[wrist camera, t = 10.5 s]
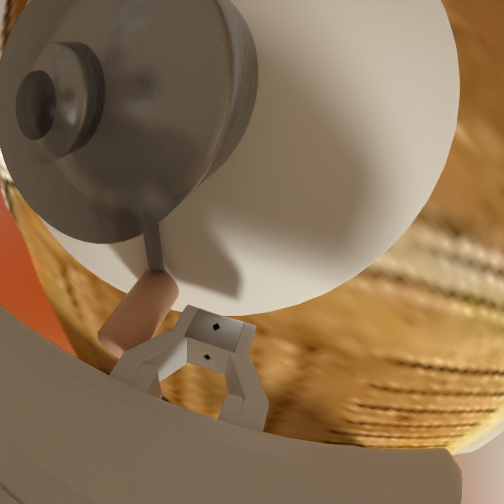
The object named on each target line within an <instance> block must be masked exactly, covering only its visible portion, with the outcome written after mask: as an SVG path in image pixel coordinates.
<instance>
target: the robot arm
mask: <svg viewBox="0 0 504 504" xmlns="http://www.w3.org/2000/svg"><path fill="white" fill-rule="evenodd" d="M255 330H256V326H255V325H252V324H248V323H244V322H242V321H239V320H235V319H232V318H228V317H225V316H221V315H218V314H215V313H212V312H209V311H206V310H203V309H201V308H197V307H195V306H192V305H189V304H188V305H187V306H186V307H185V309H184V310H183V312H182V314H181V316H180V317H179V319H178V321H177V323H176V324H175V326H174V328H173V330H172V332H171V331H166V332H164V333H162V334H160V335H158V336H156V337H154V338H152V339H150V340H148V341H146V342H144V343H142V344H140V345H138V346H136V347H134V348H132V349H130V350H128V351H125V352H124V353H123V354H122V356H121V357H120V359H119V360H118V362H117V364H116V365H115V367H114V368H113V370H112V372H111V373H110V375H107V374H105V373H104V372H102V371H100V370H98V369H96V368H94V367H92V366H91V365H89V364H87V363H85V362H83V361H82V360H80V359H78V358H76V357H75V356H73V355H71V354H70V353H68V352H66V351H65V350H63V349H62V348H60V347H58V346H56V345H55V344H54V343H52V342H51V341H49V340H47V339H46V338H45V337H43V336H42V335H40V334H39V333H37V332H36V331H34V330H33V329H32V328H30V327H29V326H27V325H26V324H25V323H23V322H22V321H20V320H19V319H18V318H17V317H15V316H14V315H13V314H11V313H10V312H9V311H7V310H6V309H5V308H4V307H2V306H1V305H0V504H461V498H462V472H461V469H460V467H459V465H458V464H457V462H456V461H455V459H454V458H453V456H452V455H451V454H450V452H449V451H448V450H447V449H444V448H429V449H382V448H364V447H352V446H342V445H333V444H325V443H318V442H312V441H306V440H300V439H294V438H289V437H284V436H279V435H274V434H270V433H266V432H263V429H264V425H265V420H266V416H267V412H268V408H269V402H268V399H267V397H266V395H265V392H264V390H263V387H262V385H261V382H260V380H259V377H258V375H257V372H256V369H255V367H254V364H253V362H252V359H251V358H249V357H248V354H249V351H250V347H251V344H252V340H253V337H254V334H255ZM187 362H188V363H191V364H194V365H197V366H200V367H203V368H206V369H209V370H212V371H215V372H218V373H221V374H224V375H225V379H226V383H227V387H228V390H229V395H227V396H226V398H225V401H224V404H223V406H222V409H221V412H220V415H219V417H218V419H214V418H211V417H208V416H205V415H202V414H199V413H196V412H193V411H191V410H188V409H185V408H182V407H180V406H177V405H174V404H172V403H169V402H167V401H164V400H162V399H161V398H162V394H161V389H160V383H159V382H160V381H161V380H163V379H164V378H166V377H167V376H169V375H170V374H172V373H173V372H175V371H176V370H178V369H179V368H181V367H182V366H184V365H185V364H187Z"/></svg>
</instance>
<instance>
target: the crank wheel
mask: <svg viewBox="0 0 504 504" xmlns="http://www.w3.org/2000/svg"><path fill="white" fill-rule="evenodd" d="M29 1H30V0H28V2H29ZM230 1H231V2H232V3H233V4H234V5H235V7H236V8H237V9H238V11H239V12H240V13H241V15H242V16H243V17H244V19H245V21H246V23H247V25H248V27H249V29H250V31H251V34H252V37H253V40H254V44H255V47H256V52H257V59H258V89H257V96H256V102H255V105H254V109H253V112H252V116H251V119H250V121H249V123H248V126H247V128H246V130H245V133H244V135H243V137H242V138H241V140H240V142H239V143H238V145H237V147H236V148H235V150H234V151H233V152H232V154H231V155H230V156H229V158H228V159H227V160H226V161H225V163H224V164H223V165H222V166H221V167H220V168H219V169H218V170H217V171H216V172H215V173H213V174H212V175H211V176H210V177H209V178H208V179H207V180H205V181H204V182H203V183H202V184H201V185H200V186H199V187H198V188H197V189H195V190H194V191H193V192H192V193H191V194H190V195H189V196H188V197H187V198H186V199H184V200H183V201H182V202H181V203H180V204H179V205H178V206H177V207H176V208H175V209H174V210H173V211H172V212H171V213H170V214H169V215H167V216H166V217H165V218H164V219H163V220H162V221H160V222H159V223H158V224H157V225H156V226H154V227H153V228H152V229H150V230H148V231H147V232H145V233H143V234H141V235H140V236H138V237H135V238H132V239H130V240H127V241H124V242H118V243H113V244H95V243H89V242H84V241H80V240H77V239H74V238H72V237H69V236H67V235H65V234H63V233H61V232H60V231H58V230H57V229H55V228H53V227H52V226H50V225H49V224H48V223H47V222H46V221H44V220H43V219H42V218H41V217H40V216H39V215H38V216H39V217H40V219H41V220H42V222H43V223H44V224H45V226H46V227H47V228H48V230H49V231H50V232H51V234H52V235H53V236H54V237H55V238H56V240H57V241H58V242H59V243H60V244H61V245H62V246H63V247H64V248H65V249H66V251H68V252H69V253H70V254H71V255H72V256H73V257H74V258H75V259H76V260H77V261H78V262H80V263H81V264H82V265H83V266H84V267H86V268H87V269H88V270H90V271H91V272H92V273H94V274H95V275H96V276H98V277H99V278H100V279H102V280H104V281H105V282H107V283H109V284H110V285H112V286H114V287H115V288H117V289H119V290H121V291H123V292H125V293H127V295H126V296H125V297H124V298H123V300H122V301H121V302H120V304H119V305H118V306H117V307H116V309H115V310H114V311H113V313H112V314H111V315H110V317H109V318H108V319H107V321H106V322H105V323H104V325H103V326H102V327H101V329H100V330H99V331H98V338H99V340H100V342H101V344H102V345H103V346H104V347H105V348H106V349H107V350H108V351H109V352H110V353H111V354H112V355H114V356H115V357H117V358H118V359H120V357H121V356H122V354H123V353H124V352H125V351H128V350H130V349H132V348H134V347H136V346H138V345H140V344H142V343H144V342H146V341H148V340H150V339H152V338H153V337H154V335H155V334H156V332H157V330H158V329H159V327H160V325H161V324H162V322H163V320H164V319H165V317H166V315H167V314H168V312H169V310H170V309H171V310H176V311H180V312H183V310H184V309H185V307H186V306H187V305H188V304H189V305H192V306H195V307H197V308H201V309H203V310H206V311H209V312H212V313H215V314H218V315H221V316H242V315H250V314H257V313H265V312H270V311H274V310H278V309H282V308H286V307H290V306H294V305H297V304H300V303H302V302H305V301H307V300H310V299H312V298H315V297H317V296H320V295H322V294H325V293H327V292H328V291H330V290H332V289H334V288H336V287H337V286H339V285H341V284H343V283H344V282H346V281H348V280H350V279H351V278H353V277H355V276H356V275H357V274H359V273H360V272H361V271H363V270H364V269H365V268H367V267H368V266H369V265H370V264H372V263H373V262H374V261H376V260H377V259H378V258H379V257H381V256H382V255H383V254H384V253H385V252H386V251H387V250H388V249H389V248H390V247H391V246H392V245H393V244H394V243H395V242H396V241H397V240H398V239H399V238H400V236H401V235H402V234H403V233H404V232H405V231H406V230H407V229H408V227H409V226H410V225H411V223H412V222H413V221H414V219H415V218H416V216H417V215H418V214H419V212H420V211H421V209H422V208H423V206H424V205H425V203H426V202H427V201H428V199H429V197H430V195H431V193H432V191H433V189H434V187H435V185H436V183H437V181H438V179H439V177H440V175H441V173H442V171H443V168H444V166H445V164H446V160H447V157H448V154H449V151H450V147H451V144H452V140H453V137H454V133H455V129H456V123H457V115H458V106H459V95H460V80H459V67H458V57H457V49H456V45H455V41H454V37H453V33H452V30H451V26H450V23H449V20H448V17H447V14H446V11H445V9H444V6H443V4H442V2H441V0H230ZM28 2H27V3H28ZM26 5H27V4H26Z"/></svg>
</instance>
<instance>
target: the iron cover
mask: <svg viewBox="0 0 504 504" xmlns="http://www.w3.org/2000/svg"><path fill="white" fill-rule="evenodd" d="M257 89H258V59H257V52H256V47H255V44H254V40H253V37H252V34H251V31H250V29H249V27H248V25H247V23H246V21H245V19H244V17H243V16H242V15H241V13H240V12H239V11H238V9H237V8H236V7H235V5H234V4H233V3H232V2H231V1H230V0H30V1H29V2H28V3H27V5H26V6H25V8H24V9H23V11H22V12H21V14H20V16H19V17H18V19H17V21H16V23H15V25H14V27H13V28H12V30H11V33H10V35H9V37H8V40H7V42H6V45H5V48H4V51H3V54H2V57H1V61H0V148H1V151H2V155H3V158H4V161H5V164H6V166H7V169H8V171H9V173H10V175H11V177H12V179H13V181H14V183H15V185H16V187H17V188H18V190H19V192H20V193H21V195H22V196H23V198H24V199H25V200H26V202H27V203H28V204H29V205H30V207H31V208H32V209H33V210H34V211H35V212H36V213H37V214H38V215H39V216H40V217H41V218H42V219H43V220H44V221H46V222H47V223H48V224H49V225H50V226H52V227H53V228H55V229H57V230H58V231H60V232H61V233H63V234H65V235H67V236H69V237H72V238H74V239H77V240H80V241H84V242H89V243H95V244H113V243H118V242H124V241H127V240H130V239H132V238H135V237H138V236H140V235H141V234H143V233H145V232H147V231H148V230H150V229H152V228H153V227H154V226H156V225H157V224H158V223H159V222H160V221H162V220H163V219H164V218H165V217H166V216H167V215H169V214H170V213H171V212H172V211H173V210H174V209H175V208H176V207H177V206H178V205H179V204H180V203H181V202H182V201H183V200H184V199H186V198H187V197H188V196H189V195H190V194H191V193H192V192H193V191H194V190H195V189H197V188H198V187H199V186H200V185H201V184H202V183H203V182H204V181H205V180H207V179H208V178H209V177H210V176H211V175H212V174H213V173H215V172H216V171H217V170H218V169H219V168H220V167H221V166H222V165H223V164H224V163H225V161H226V160H227V159H228V158H229V156H230V155H231V154H232V152H233V151H234V150H235V148H236V147H237V145H238V143H239V142H240V140H241V138H242V137H243V135H244V133H245V130H246V128H247V126H248V123H249V121H250V119H251V116H252V112H253V109H254V105H255V102H256V96H257Z"/></svg>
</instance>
